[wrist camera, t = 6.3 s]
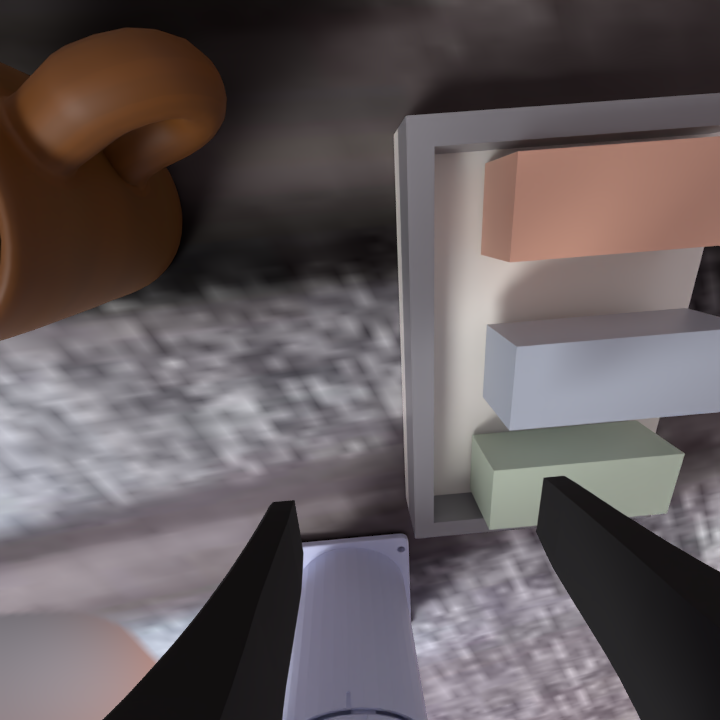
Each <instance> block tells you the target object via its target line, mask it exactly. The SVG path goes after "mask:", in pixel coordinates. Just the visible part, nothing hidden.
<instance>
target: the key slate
mask: <svg viewBox="0 0 720 720" xmlns="http://www.w3.org/2000/svg"><path fill="white" fill-rule="evenodd" d="M483 398H484V399H485V400H486V402H487V403H488V404H489V405H490V407H491V408H492V409H493V410H494V412H495V413H496V414H497V416H498V417H499V418H500V419H501V421H502V422H503V423H504V424H505V426H506V427H507V428H508V430H509V431H512V430H523V429H534V428H546V427H557V426H568V425H579V424H591V423H602V422H613V421H625V420H636V419H647V418H658V417H670V416H681V415H692V414H704V413H715V412H720V317H718V316H714V315H710V314H706V313H703V312H699V311H695V310H691V309H687V308H679V309H667V310H655V311H643V312H631V313H619V314H607V315H595V316H583V317H571V318H559V319H547V320H535V321H523V322H511V323H499V324H487V330H486V348H485V366H484V383H483Z"/></svg>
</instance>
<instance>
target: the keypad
mask: <svg viewBox="0 0 720 720" xmlns="http://www.w3.org/2000/svg"><path fill="white" fill-rule="evenodd" d="M715 136H720V93H711V94H698V95H684V96H670V97H656V98H643V99H629V100H615V101H601V102H588V103H574V104H560V105H546V106H533V107H519V108H505V109H492V110H478V111H464V112H450V113H437V114H423V115H409V116H406V117H405V118H404V120H403V121H402V123H401V124H400V126H399V127H398V129H397V131H396V132H395V134H394V157H395V187H396V217H397V248H398V278H399V308H400V338H401V368H402V398H403V428H404V459H405V489H406V500H407V504H408V509H409V513H410V517H411V522H412V526H413V530H414V535H415V539H418V538H429V537H439V536H450V535H461V534H472V533H482V532H493V531H504V530H514V529H525V528H536V527H537V526H527V527H516V528H505V529H495V530H489V528H488V526H487V524H486V522H485V520H484V518H483V515H482V513H481V511H480V509H479V507H478V505H477V503H476V501H475V498H474V496H473V494H472V492H471V490H470V473H471V452H472V435H478V434H489V433H500V432H512V431H523V430H534V429H546V428H557V427H568V426H579V425H591V424H602V423H613V422H624V421H613V422H602V423H591V424H579V425H568V426H557V427H546V428H534V429H523V430H512V431H509V430H508V428H507V427H506V426H505V424H504V423H503V422H502V421H501V419H500V418H499V417H498V416H497V414H496V413H495V412H494V410H493V409H492V408H491V407H490V405H489V404H488V403H487V402H486V400H485V399H484V398H483V383H484V366H485V348H486V330H487V324H499V323H511V322H523V321H535V320H547V319H559V318H571V317H583V316H595V315H607V314H619V313H631V312H643V311H655V310H667V309H679V308H687V309H688V307H689V303H690V299H691V296H692V292H693V288H694V284H695V280H696V276H697V273H698V269H699V265H700V261H701V257H702V253H703V250H704V247H695V248H683V249H671V250H658V251H646V252H633V253H621V254H608V255H596V256H583V257H571V258H559V259H546V260H534V261H521V262H506V261H503V260H499V259H495V258H492V257H488V256H484V255H481V242H482V221H483V200H484V178H485V163H488V162H491V161H493V160H496V159H499V158H501V157H504V156H507V155H509V154H512V153H515V152H518V151H529V150H542V149H555V148H569V147H582V146H595V145H609V144H622V143H635V142H649V141H662V140H675V139H689V138H702V137H715ZM659 418H660V417H658V418H647V419H636V420H637V421H638V422H640V423H641V424H643V425H644V426H645V427H647V428H648V429H650V430H651V431H653V432H654V433H656V430H657V426H658V422H659ZM636 420H625V421H636ZM643 517H651V515H645V516H634V517H629V518H630V519H632V518H643Z"/></svg>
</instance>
